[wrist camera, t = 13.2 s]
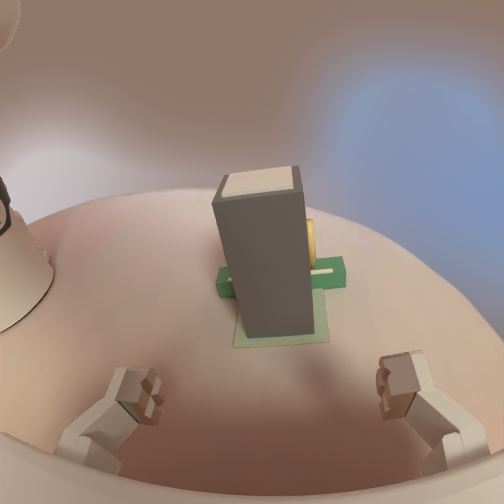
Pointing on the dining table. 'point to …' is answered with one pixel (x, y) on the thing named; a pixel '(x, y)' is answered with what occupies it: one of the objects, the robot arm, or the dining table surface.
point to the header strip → (322, 270)
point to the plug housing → (267, 250)
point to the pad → (319, 336)
